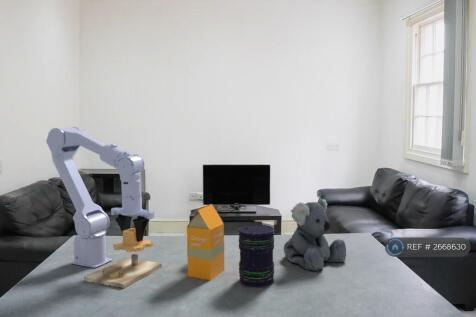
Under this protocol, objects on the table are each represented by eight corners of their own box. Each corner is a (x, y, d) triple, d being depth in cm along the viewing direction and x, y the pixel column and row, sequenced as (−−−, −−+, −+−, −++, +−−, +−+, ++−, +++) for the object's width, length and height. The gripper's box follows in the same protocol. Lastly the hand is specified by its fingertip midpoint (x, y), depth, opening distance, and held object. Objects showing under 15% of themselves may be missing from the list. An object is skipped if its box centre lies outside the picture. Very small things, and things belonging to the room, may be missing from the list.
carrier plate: (84, 280, 128) (83, 266, 127) (124, 261, 144) (124, 248, 144) (123, 288, 122) (123, 273, 122) (161, 267, 138) (161, 253, 138)
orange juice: (224, 270, 135) (224, 204, 133) (210, 280, 127) (209, 210, 125) (202, 266, 139) (200, 202, 137) (187, 276, 131) (185, 208, 129)
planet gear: (108, 248, 134) (108, 232, 134) (130, 240, 143) (129, 225, 143) (136, 253, 130) (135, 236, 129) (156, 244, 139) (156, 228, 138)
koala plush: (315, 274, 131) (315, 208, 129) (270, 259, 145) (270, 199, 142) (350, 261, 142) (351, 200, 140) (306, 248, 156) (306, 192, 154)
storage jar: (278, 276, 129) (278, 225, 128) (269, 289, 120) (269, 235, 119) (245, 273, 133) (244, 223, 131) (234, 285, 123) (233, 232, 122)
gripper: (103, 196, 134) (105, 240, 136) (143, 200, 128) (145, 246, 130) (119, 192, 141) (120, 234, 142) (157, 195, 135) (159, 239, 136)
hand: (133, 240), depth 136 cm, fingers closed on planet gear, 4 cm apart
